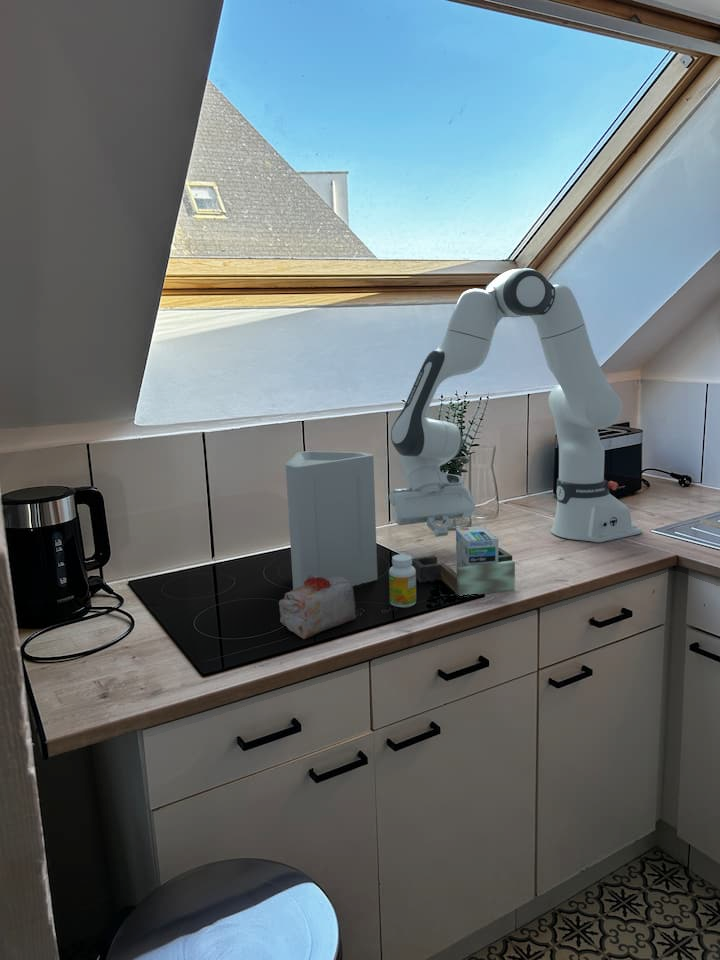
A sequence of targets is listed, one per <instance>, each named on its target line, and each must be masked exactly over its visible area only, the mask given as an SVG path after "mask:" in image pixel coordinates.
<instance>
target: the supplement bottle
mask: <svg viewBox="0 0 720 960" xmlns="http://www.w3.org/2000/svg"><path fill="white" fill-rule="evenodd" d="M391 558H392V559H391V564H392V566H391V567H390V568H389V570H388V579H389V604H390V605H391V606H393V607H396V608H410V607H412V606H414V605H416V603H417V579H416V570H415V568H414V567H413V566H411V565H412V558H413V557H412V556H411V555H409V554H405V553H404V554H403V553H400V554H395V555H392V557H391Z"/></svg>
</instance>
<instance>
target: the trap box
mask: <svg viewBox="0 0 720 960" xmlns="http://www.w3.org/2000/svg"><path fill="white" fill-rule="evenodd" d="M411 566H413V567H414V568H415V570H416V581H418V582H419V583H420V584H421V583H422V582H424V583H427V582H426V581H431V582H436V581H435V580H439V581H441V580H442V581H443V582H444V583H445V584H444V583H443V582H442V581H441V582H442V583H443V584H444V585H446V584H447V585H448V586H449V587H450V588H451V589H452V590H453V591H454V592H455V593H456V594H455V593H454V592H453V591H452V590H451V589H450V588H449V587H448V586H447V585H446V586H447V587H448V588H449V589H450V590H451V591H452V592H453V593H454V594H455V595H457V594H458V595H459V596H463V595H468V594H469V595H471V594H478V595H485V594H492V593H498V592H499V593H500V592H506V591H513V590H516V589H515V588H516V586H515V583H516V582H515V581H516V578H515V577H516V573H515V572H516V562H515V561H514V560H513V555H512V554H510V553H509V552H508V551H506V550H504V549H503V548H501V547H498V562H496V563H488V564H481V565H473V566H465V567H458V568H457V567H456V572H455V571H454V570H453V569H452V568H451V567H449V566H448V565H447V564H446V563H445V562H438V557H437V555H435V554H434V555H429V556H421V557H414V558H413V557H412V565H411ZM458 595H457V596H458ZM459 596H458V597H459ZM471 596H472V595H471Z"/></svg>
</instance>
